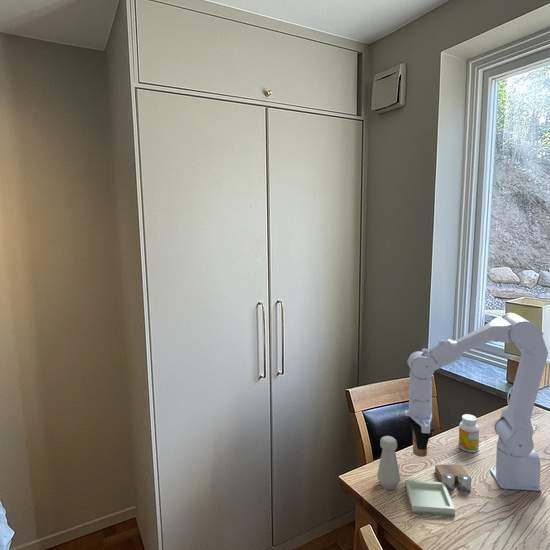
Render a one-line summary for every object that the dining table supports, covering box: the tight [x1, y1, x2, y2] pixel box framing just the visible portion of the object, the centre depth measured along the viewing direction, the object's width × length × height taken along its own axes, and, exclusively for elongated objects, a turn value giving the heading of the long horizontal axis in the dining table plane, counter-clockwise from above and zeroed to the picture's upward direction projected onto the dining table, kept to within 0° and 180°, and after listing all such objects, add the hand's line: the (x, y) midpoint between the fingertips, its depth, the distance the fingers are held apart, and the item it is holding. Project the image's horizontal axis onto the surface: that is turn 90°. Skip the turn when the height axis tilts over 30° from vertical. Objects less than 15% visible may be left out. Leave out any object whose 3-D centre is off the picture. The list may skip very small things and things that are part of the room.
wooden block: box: [434, 463, 470, 485], centre depth 107 cm, size 7×5×2 cm
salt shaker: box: [376, 435, 401, 491], centre depth 104 cm, size 6×6×13 cm
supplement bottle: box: [458, 413, 480, 453], centre depth 120 cm, size 5×5×10 cm
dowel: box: [412, 422, 428, 458], centre depth 108 cm, size 4×4×8 cm
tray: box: [404, 479, 456, 517], centre depth 98 cm, size 10×10×2 cm
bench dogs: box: [442, 473, 472, 493], centre depth 102 cm, size 7×3×3 cm, turn 81°
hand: (420, 444), depth 108 cm, fingers closed on dowel, 4 cm apart
